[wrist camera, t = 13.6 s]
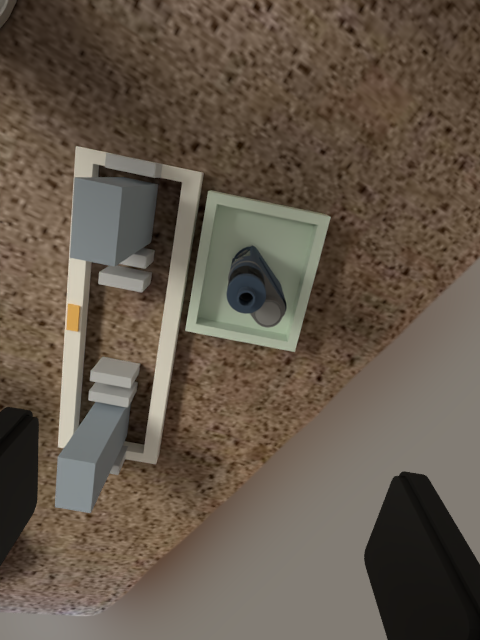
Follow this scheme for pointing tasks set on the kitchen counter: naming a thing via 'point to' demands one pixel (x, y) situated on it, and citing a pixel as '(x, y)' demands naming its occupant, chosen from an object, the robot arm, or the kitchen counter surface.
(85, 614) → the kitchen counter surface
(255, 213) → the tray
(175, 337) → the rail
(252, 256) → the vaping device
